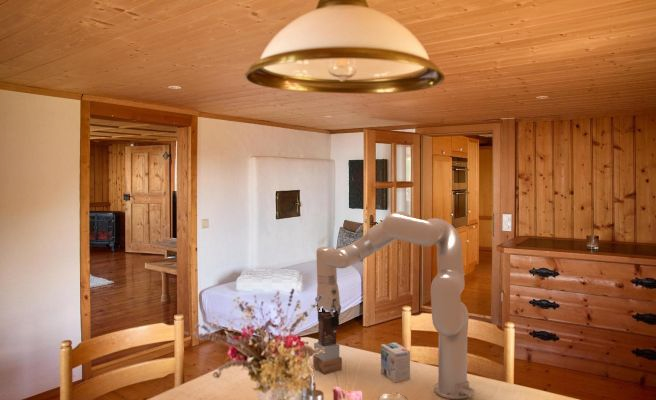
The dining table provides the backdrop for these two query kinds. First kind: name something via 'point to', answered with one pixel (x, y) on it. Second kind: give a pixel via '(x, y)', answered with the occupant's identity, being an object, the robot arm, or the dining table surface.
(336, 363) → the tower base
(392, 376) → the light bulb box
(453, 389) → the robot arm
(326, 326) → the box
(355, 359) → the dining table surface
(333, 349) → the tower top
